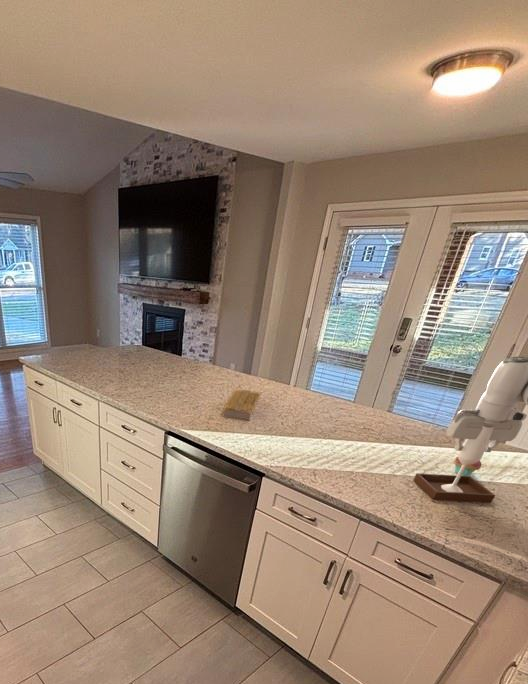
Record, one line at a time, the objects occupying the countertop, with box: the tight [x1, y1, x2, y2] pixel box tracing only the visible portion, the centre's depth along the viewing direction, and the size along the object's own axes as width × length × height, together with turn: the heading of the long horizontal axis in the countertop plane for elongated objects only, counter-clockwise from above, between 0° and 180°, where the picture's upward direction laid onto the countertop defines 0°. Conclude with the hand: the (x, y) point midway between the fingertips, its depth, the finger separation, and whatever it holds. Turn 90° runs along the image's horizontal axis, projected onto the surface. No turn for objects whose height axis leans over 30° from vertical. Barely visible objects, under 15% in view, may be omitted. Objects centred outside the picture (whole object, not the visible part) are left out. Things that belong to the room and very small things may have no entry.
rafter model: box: [222, 389, 262, 421], centre depth 210 cm, size 35×14×6 cm, turn 160°
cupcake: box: [453, 456, 482, 476], centre depth 155 cm, size 9×8×12 cm
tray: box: [412, 472, 496, 504], centre depth 145 cm, size 20×14×3 cm
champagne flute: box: [441, 426, 494, 493], centre depth 139 cm, size 7×7×24 cm
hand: (471, 450), depth 137 cm, fingers open, 8 cm apart
